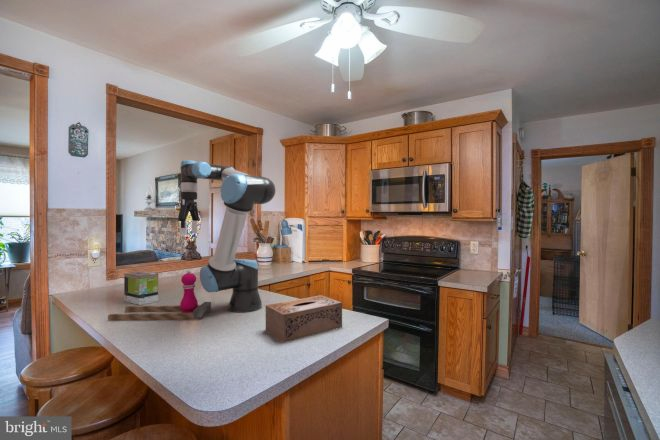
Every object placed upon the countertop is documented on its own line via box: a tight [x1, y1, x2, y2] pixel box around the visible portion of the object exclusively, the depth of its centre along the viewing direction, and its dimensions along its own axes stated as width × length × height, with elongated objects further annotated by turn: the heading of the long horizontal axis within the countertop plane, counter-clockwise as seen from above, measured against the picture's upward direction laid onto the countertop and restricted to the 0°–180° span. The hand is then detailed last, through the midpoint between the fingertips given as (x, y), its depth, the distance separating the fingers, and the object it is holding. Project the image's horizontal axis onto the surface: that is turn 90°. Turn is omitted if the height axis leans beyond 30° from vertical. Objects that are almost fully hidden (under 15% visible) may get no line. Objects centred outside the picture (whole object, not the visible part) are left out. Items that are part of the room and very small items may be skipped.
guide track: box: [107, 301, 212, 322], centre depth 139 cm, size 38×13×4 cm, turn 92°
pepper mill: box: [179, 269, 199, 313], centre depth 139 cm, size 7×7×20 cm
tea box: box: [123, 270, 159, 306], centre depth 162 cm, size 15×10×15 cm, turn 58°
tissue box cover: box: [265, 294, 343, 344], centre depth 122 cm, size 26×14×10 cm, turn 126°
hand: (189, 234), depth 159 cm, fingers open, 13 cm apart
